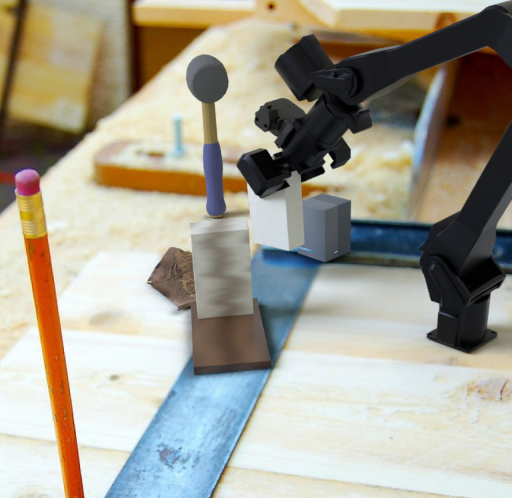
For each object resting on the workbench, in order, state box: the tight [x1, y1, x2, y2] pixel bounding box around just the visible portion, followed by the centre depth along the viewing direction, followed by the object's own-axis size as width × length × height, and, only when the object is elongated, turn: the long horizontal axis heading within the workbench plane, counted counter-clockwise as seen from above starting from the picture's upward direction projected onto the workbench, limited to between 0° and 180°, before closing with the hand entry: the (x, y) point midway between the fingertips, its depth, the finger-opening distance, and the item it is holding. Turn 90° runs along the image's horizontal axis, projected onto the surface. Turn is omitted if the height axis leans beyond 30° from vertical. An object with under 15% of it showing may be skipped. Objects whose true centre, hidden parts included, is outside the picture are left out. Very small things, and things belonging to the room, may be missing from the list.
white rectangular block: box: [246, 157, 305, 252], centre depth 117 cm, size 8×4×13 cm, turn 38°
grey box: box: [297, 192, 352, 263], centre depth 128 cm, size 6×6×9 cm
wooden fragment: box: [146, 246, 197, 312], centre depth 127 cm, size 26×11×1 cm, turn 179°
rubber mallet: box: [185, 53, 230, 219], centre depth 145 cm, size 12×8×30 cm, turn 2°
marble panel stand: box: [189, 216, 272, 376], centre depth 104 cm, size 10×19×14 cm, turn 179°
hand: (268, 192), depth 118 cm, fingers closed on white rectangular block, 3 cm apart
